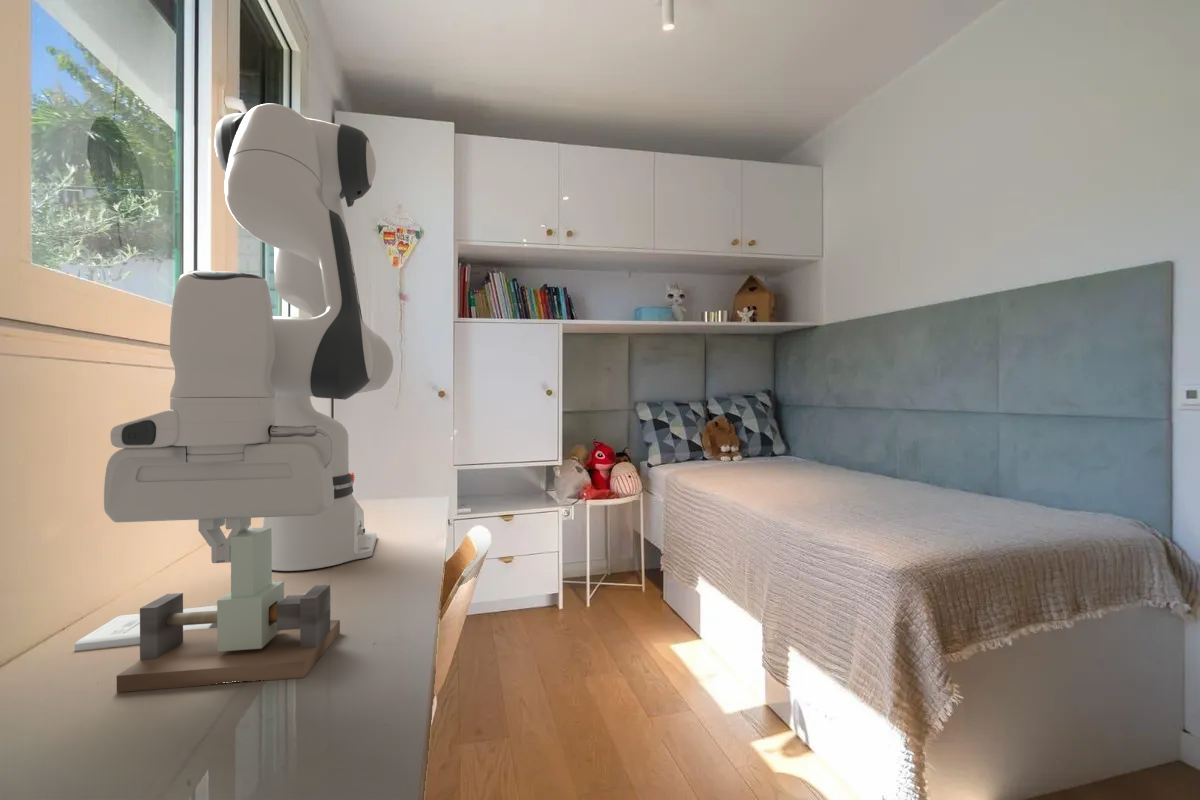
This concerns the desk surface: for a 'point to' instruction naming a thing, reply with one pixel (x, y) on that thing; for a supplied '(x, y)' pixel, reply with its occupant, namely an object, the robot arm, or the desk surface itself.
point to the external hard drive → (128, 631)
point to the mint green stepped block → (249, 594)
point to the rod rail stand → (197, 662)
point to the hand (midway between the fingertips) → (225, 561)
